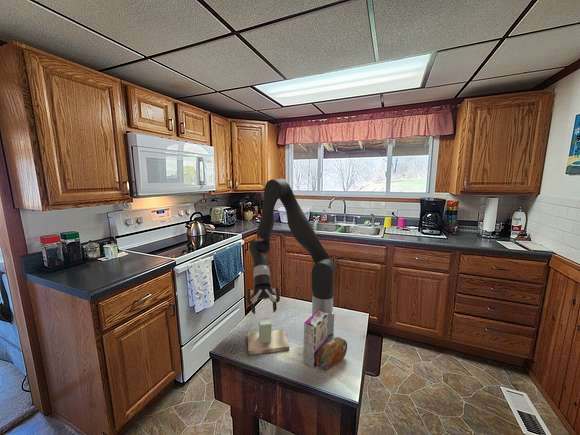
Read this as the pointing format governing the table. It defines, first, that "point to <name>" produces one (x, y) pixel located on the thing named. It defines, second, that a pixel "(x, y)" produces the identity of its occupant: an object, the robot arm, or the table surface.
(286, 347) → the birch board
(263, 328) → the sage block
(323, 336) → the candy bar box
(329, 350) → the tin
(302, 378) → the table surface
